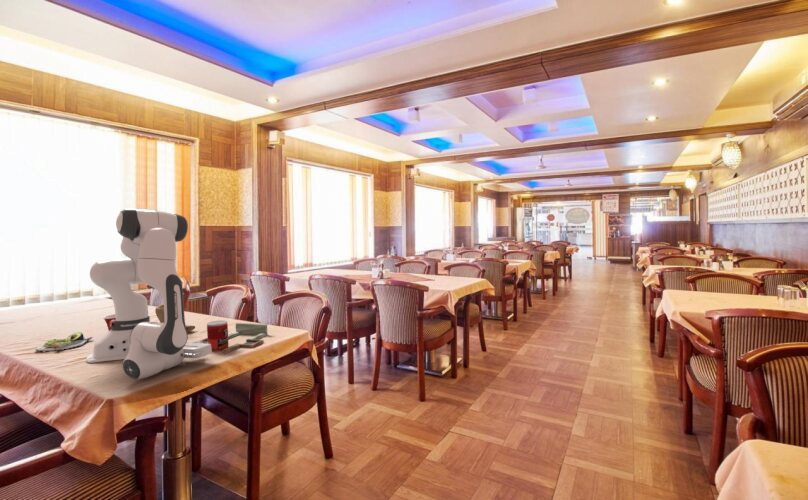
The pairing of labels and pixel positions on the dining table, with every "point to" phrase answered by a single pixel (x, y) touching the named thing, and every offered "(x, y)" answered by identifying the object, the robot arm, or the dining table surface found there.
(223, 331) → the canned food
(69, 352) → the dining table surface
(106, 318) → the plastic cup
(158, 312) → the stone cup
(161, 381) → the dining table surface
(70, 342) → the salad plate
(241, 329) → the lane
